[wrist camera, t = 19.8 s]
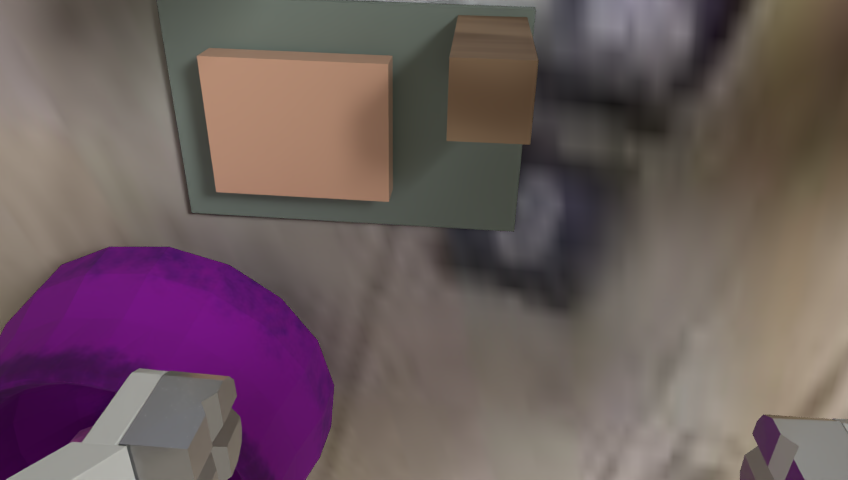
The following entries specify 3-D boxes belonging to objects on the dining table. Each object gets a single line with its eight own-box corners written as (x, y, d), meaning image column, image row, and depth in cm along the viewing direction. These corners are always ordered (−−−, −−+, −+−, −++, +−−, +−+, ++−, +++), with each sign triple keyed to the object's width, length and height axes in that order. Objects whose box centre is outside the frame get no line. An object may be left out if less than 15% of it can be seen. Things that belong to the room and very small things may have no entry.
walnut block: (521, 85, 33) (530, 144, 26) (455, 82, 33) (446, 141, 26) (527, 17, 31) (538, 60, 24) (458, 14, 31) (449, 57, 24)
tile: (388, 64, 31) (196, 55, 31) (389, 201, 34) (216, 192, 35) (393, 54, 32) (211, 46, 33) (393, 186, 36) (228, 177, 36)
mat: (534, 7, 31) (535, 9, 31) (513, 226, 37) (513, 231, 36) (161, -7, 32) (155, -5, 32) (195, 208, 38) (191, 212, 38)
